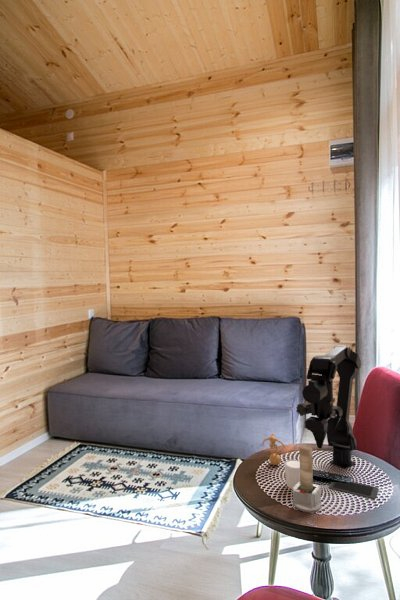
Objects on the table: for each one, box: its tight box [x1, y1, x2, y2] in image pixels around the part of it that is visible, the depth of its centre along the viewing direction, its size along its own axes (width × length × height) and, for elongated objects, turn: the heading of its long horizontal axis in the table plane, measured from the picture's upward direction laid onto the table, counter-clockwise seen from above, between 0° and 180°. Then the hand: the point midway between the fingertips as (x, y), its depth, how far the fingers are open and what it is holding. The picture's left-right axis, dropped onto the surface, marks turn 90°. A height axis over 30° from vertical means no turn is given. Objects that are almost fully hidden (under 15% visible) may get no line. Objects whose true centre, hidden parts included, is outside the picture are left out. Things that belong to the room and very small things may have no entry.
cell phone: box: [328, 480, 380, 500], centre depth 128 cm, size 7×14×1 cm, turn 58°
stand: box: [292, 482, 322, 513], centre depth 120 cm, size 8×8×5 cm
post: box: [298, 445, 314, 492], centre depth 119 cm, size 4×4×12 cm
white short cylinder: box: [283, 459, 300, 490], centre depth 132 cm, size 7×7×7 cm
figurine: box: [261, 433, 286, 466], centre depth 146 cm, size 8×6×12 cm
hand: (324, 443), depth 132 cm, fingers open, 9 cm apart
